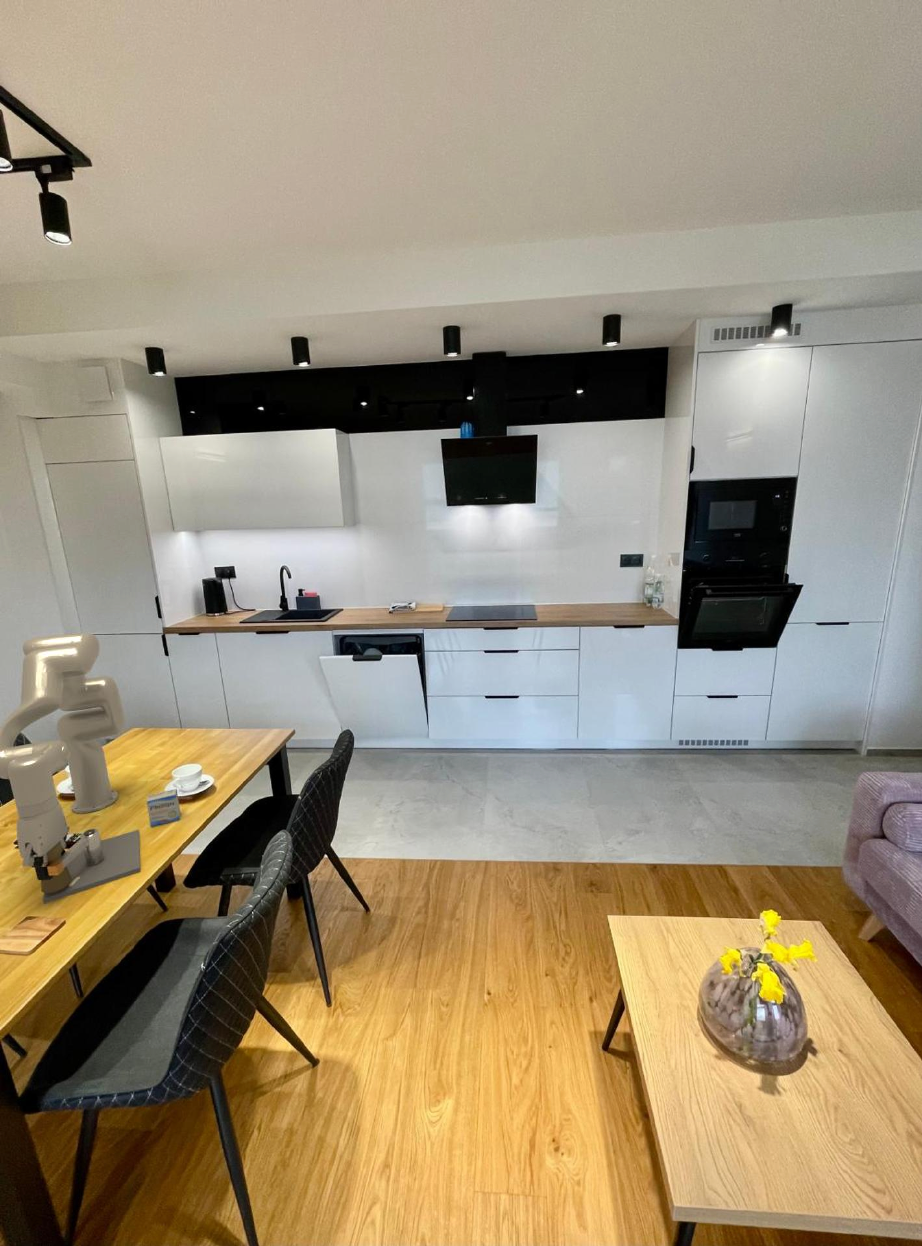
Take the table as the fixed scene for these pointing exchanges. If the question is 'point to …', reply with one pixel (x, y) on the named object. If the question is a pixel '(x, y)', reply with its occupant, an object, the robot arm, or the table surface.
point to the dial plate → (102, 866)
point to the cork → (57, 880)
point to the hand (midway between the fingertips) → (53, 871)
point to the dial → (88, 844)
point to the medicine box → (163, 808)
